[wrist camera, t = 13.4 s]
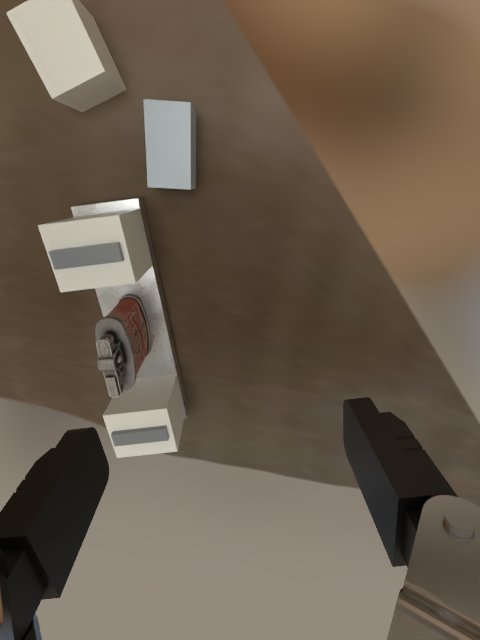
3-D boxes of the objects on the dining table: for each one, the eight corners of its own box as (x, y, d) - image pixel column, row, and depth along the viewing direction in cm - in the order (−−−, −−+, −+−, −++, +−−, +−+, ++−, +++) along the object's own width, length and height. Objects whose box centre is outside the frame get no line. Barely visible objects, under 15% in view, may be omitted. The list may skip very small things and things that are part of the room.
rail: (139, 414, 47) (135, 424, 45) (78, 205, 36) (70, 207, 35) (188, 408, 47) (186, 418, 45) (142, 197, 36) (137, 198, 34)
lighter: (114, 294, 38) (77, 330, 29) (144, 292, 38) (116, 328, 29) (128, 356, 41) (97, 407, 32) (155, 355, 41) (133, 405, 32)
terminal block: (158, 186, 36) (147, 187, 31) (155, 110, 33) (143, 99, 29) (196, 188, 36) (190, 189, 31) (196, 113, 33) (190, 102, 29)
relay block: (82, 112, 33) (52, 98, 28) (46, 43, 31) (6, 12, 25) (126, 90, 33) (105, 71, 27) (93, 17, 30) (62, -20, 25)
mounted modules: (133, 418, 45) (115, 462, 38) (73, 217, 35) (33, 226, 28) (185, 412, 45) (176, 455, 38) (139, 208, 35) (116, 215, 28)
